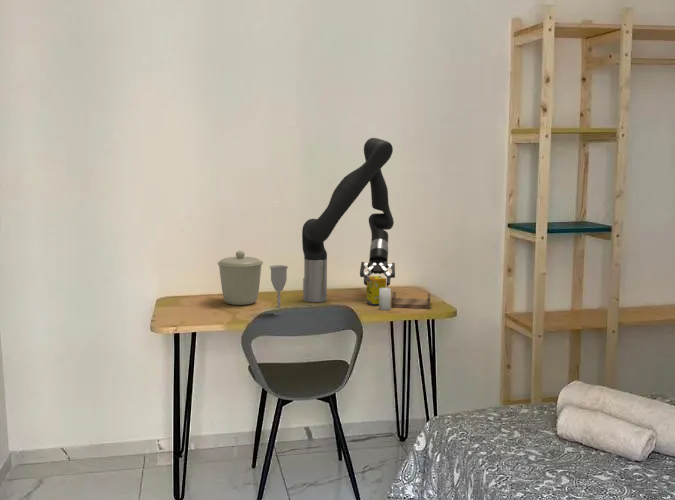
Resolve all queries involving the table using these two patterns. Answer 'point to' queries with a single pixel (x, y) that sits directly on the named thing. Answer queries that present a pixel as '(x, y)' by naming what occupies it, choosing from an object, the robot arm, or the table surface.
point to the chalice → (278, 279)
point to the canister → (240, 279)
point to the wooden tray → (410, 302)
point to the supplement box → (374, 289)
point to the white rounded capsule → (384, 298)
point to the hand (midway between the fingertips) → (376, 284)
